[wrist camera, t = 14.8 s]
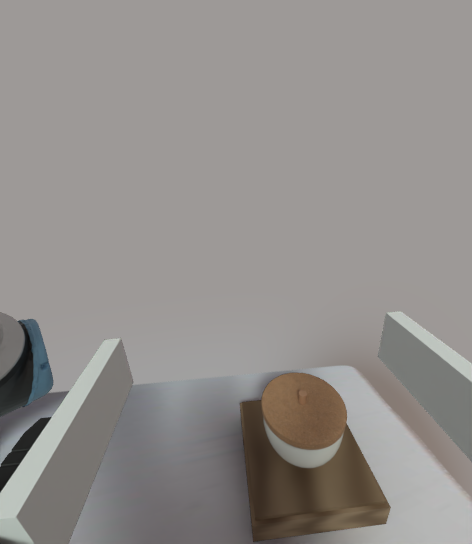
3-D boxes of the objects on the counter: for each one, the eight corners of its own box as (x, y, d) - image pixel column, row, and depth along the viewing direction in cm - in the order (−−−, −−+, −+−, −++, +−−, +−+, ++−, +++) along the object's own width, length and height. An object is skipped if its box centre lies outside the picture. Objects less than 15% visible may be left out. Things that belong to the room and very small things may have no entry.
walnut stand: (253, 541, 29) (251, 522, 27) (240, 417, 44) (239, 400, 42) (385, 523, 29) (391, 504, 28) (329, 407, 44) (330, 390, 43)
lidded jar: (293, 397, 42) (294, 353, 39) (356, 445, 34) (364, 394, 31) (247, 440, 36) (243, 391, 32) (310, 509, 28) (315, 456, 24)
